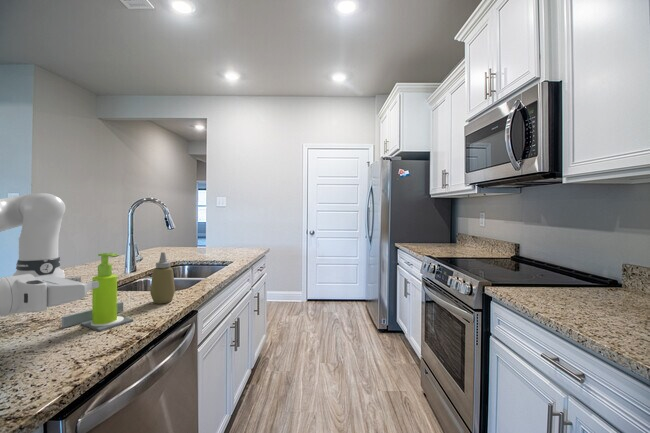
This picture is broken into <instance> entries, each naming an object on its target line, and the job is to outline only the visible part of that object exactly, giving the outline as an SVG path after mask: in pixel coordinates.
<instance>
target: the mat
mask: <svg viewBox="0 0 650 433" xmlns="http://www.w3.org/2000/svg"><path fill="white" fill-rule="evenodd" d="M131 322H134V319H133V318H129V317H126V316H123V315H119V314H117V320H115V321H113V322H110V323H106V324H93V320H90V321H86V322H83V323H80V325H81V326H84V327H87V328H89V329H92V330H95V331H97V332H103V331H105V330H108V329H112V328H115V327H119V326H122V325H124V324H125V325H126V324H128V323H131Z"/></svg>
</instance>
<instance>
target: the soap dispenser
mask: <svg viewBox="0 0 650 433" xmlns="http://www.w3.org/2000/svg"><path fill="white" fill-rule="evenodd" d="M119 256H120V255H119V254H117V253H113V252H105V253H104V252H101V253H98V254H97V257H101V258H100V259H101V263H99V264H98V265H97V275H96V276H92V278H91V279H92V280H91V281H98V282H99V287H98V288H94V289H91V290H92V292H91V294H92V295H91V296H92V308H91V309H92V318H93V324H106V323H110V322H113V321H115V320H117V315H118V313H117V303H118V275H117V274H113V264H112V263H110V262H109V258H115V257H119Z"/></svg>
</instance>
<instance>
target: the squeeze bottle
mask: <svg viewBox="0 0 650 433" xmlns="http://www.w3.org/2000/svg"><path fill="white" fill-rule="evenodd" d="M175 292H176V286H175V277H174V269H173V267H171V262H170V261H168V258H167V256H166V252H164V251H163V252H161V253H160V257H159V260H158V262H155V268H154V269H153V270H152V275H151V284H150V292H149V293H150V296H151V299H152V301H153V303H154V304H158V305H159V304H168V303H170V302H171V301H173V298H174V296H175Z"/></svg>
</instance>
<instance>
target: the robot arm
mask: <svg viewBox="0 0 650 433" xmlns="http://www.w3.org/2000/svg"><path fill="white" fill-rule="evenodd" d="M65 213H66V204H65V202H64V201H63V199H61V198H60V197H58V196H56V195H55V194H51V193H48V192H46V193H45V192H40V193H38V192H37V193H27V194H21V195H16V196H11V197H4V198H0V233H1V232H5V231H7V230H11V229H14V228H18V227H21V230H20V235H19V237H18V259H17V261H16V266H15V267H16V268H15V272H14V273H13V275H9V276H2V277H1V276H0V317H6V316H12V315H15V314H23V313H39V312H44V311H47V308H51V307H57V306H62V305H65V304H69V303H73V302H77V301H81V300H82V299H85V298H86V297H87V296H88V292H89V291H90V290H92V289H94V288H98V287H99V282H98V281H92V280H91V281H88V282H82V281H81V277H80V276H71V277H65V276H66V275H65V270H63V269H62V268H60V266H61V258H60V256H59V254H60V253H59V250H60V248H59V245H60V244H59V242H60V239H59V238H60V231H61V226H62V223H63V216H64V214H65Z"/></svg>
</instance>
